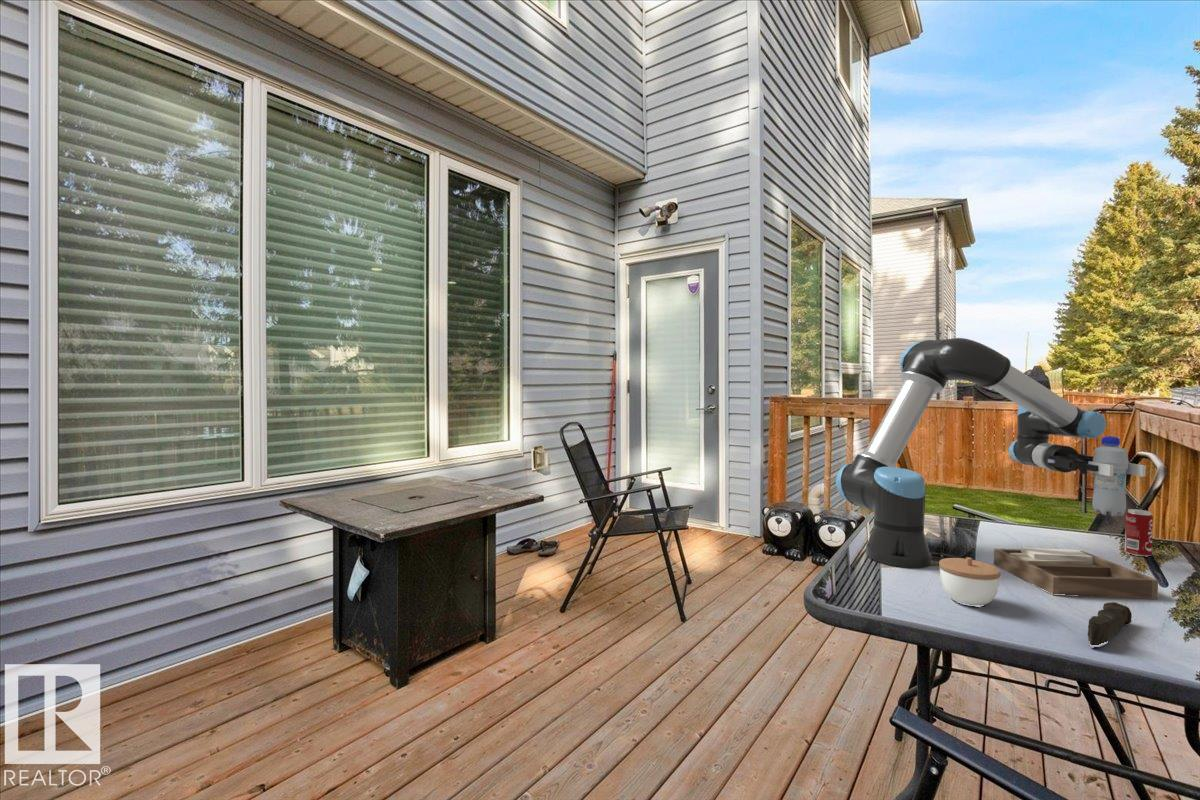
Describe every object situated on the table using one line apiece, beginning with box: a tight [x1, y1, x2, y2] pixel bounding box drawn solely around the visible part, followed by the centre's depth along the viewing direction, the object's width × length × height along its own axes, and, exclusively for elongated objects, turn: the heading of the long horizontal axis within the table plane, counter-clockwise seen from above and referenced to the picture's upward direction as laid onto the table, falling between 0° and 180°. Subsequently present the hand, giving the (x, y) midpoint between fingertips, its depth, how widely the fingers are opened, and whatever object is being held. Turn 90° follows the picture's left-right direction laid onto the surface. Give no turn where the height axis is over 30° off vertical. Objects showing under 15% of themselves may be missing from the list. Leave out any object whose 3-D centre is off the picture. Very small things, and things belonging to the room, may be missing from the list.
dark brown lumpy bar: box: [1087, 601, 1133, 645], centre depth 100 cm, size 19×4×5 cm, turn 124°
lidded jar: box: [938, 557, 1001, 606], centre depth 115 cm, size 11×11×9 cm
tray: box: [993, 548, 1159, 599], centre depth 127 cm, size 20×21×4 cm
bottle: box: [1091, 435, 1130, 517], centre depth 137 cm, size 7×7×20 cm
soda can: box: [1124, 508, 1154, 557], centre depth 146 cm, size 5×5×12 cm
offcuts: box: [1010, 546, 1095, 566], centre depth 132 cm, size 7×17×4 cm, turn 85°
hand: (1127, 470), depth 132 cm, fingers closed on bottle, 7 cm apart
